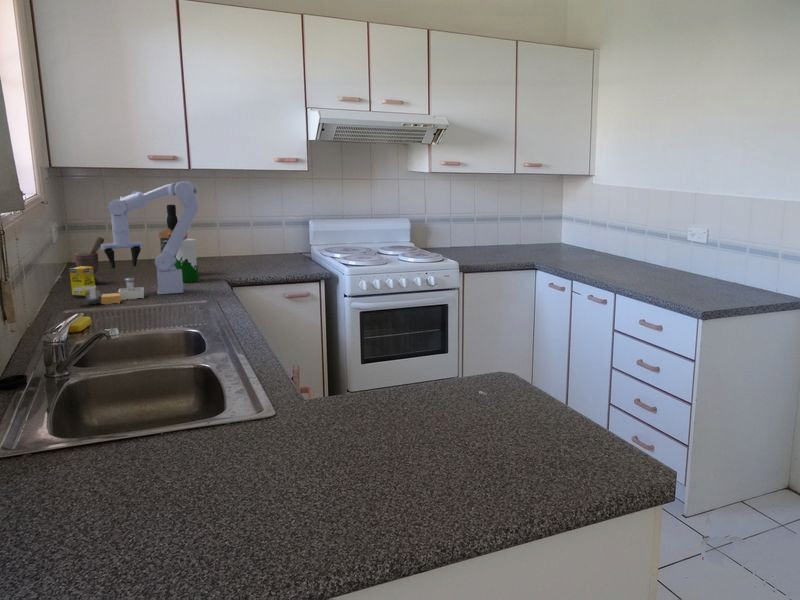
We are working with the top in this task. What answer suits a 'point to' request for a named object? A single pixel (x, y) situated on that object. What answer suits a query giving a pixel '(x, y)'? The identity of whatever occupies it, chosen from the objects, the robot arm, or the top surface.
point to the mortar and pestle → (90, 257)
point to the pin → (130, 284)
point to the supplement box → (81, 279)
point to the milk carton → (187, 260)
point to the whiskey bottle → (169, 226)
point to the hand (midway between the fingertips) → (124, 267)
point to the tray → (131, 293)
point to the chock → (110, 298)
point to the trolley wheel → (90, 294)
